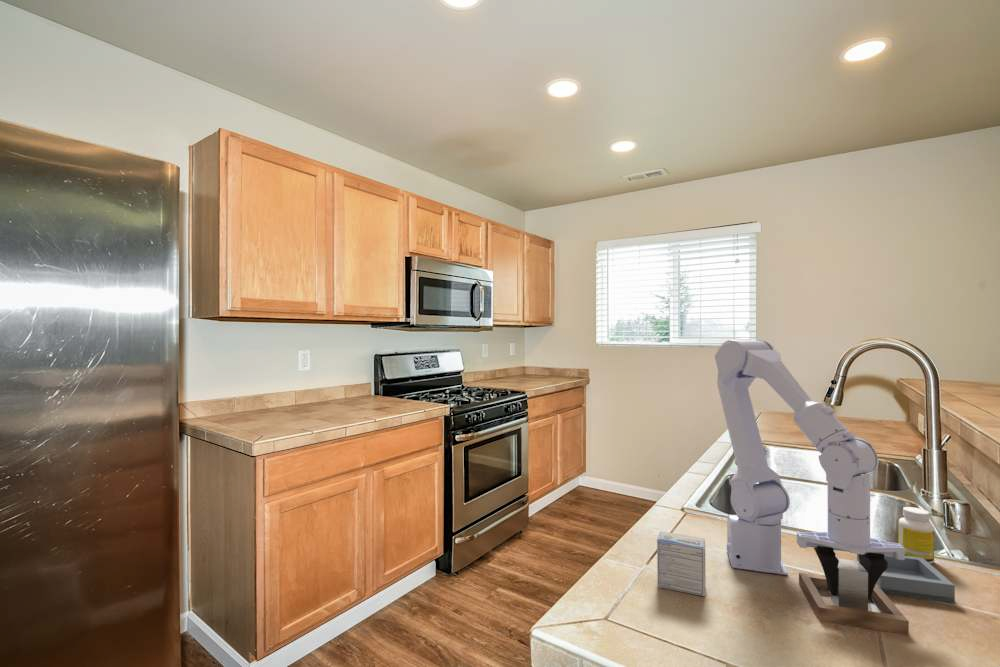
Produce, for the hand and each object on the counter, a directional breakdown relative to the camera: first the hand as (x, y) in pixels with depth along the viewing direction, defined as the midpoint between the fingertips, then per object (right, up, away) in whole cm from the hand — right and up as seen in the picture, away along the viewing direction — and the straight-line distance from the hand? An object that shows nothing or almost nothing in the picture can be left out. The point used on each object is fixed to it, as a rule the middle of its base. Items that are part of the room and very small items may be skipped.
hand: (848, 595), depth 79 cm
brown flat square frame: (0, -2, 0) cm, 2 cm away
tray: (+15, -2, +8) cm, 17 cm away
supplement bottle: (+26, -2, +17) cm, 31 cm away
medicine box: (-25, -2, +6) cm, 26 cm away
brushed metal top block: (0, -2, 0) cm, 2 cm away
